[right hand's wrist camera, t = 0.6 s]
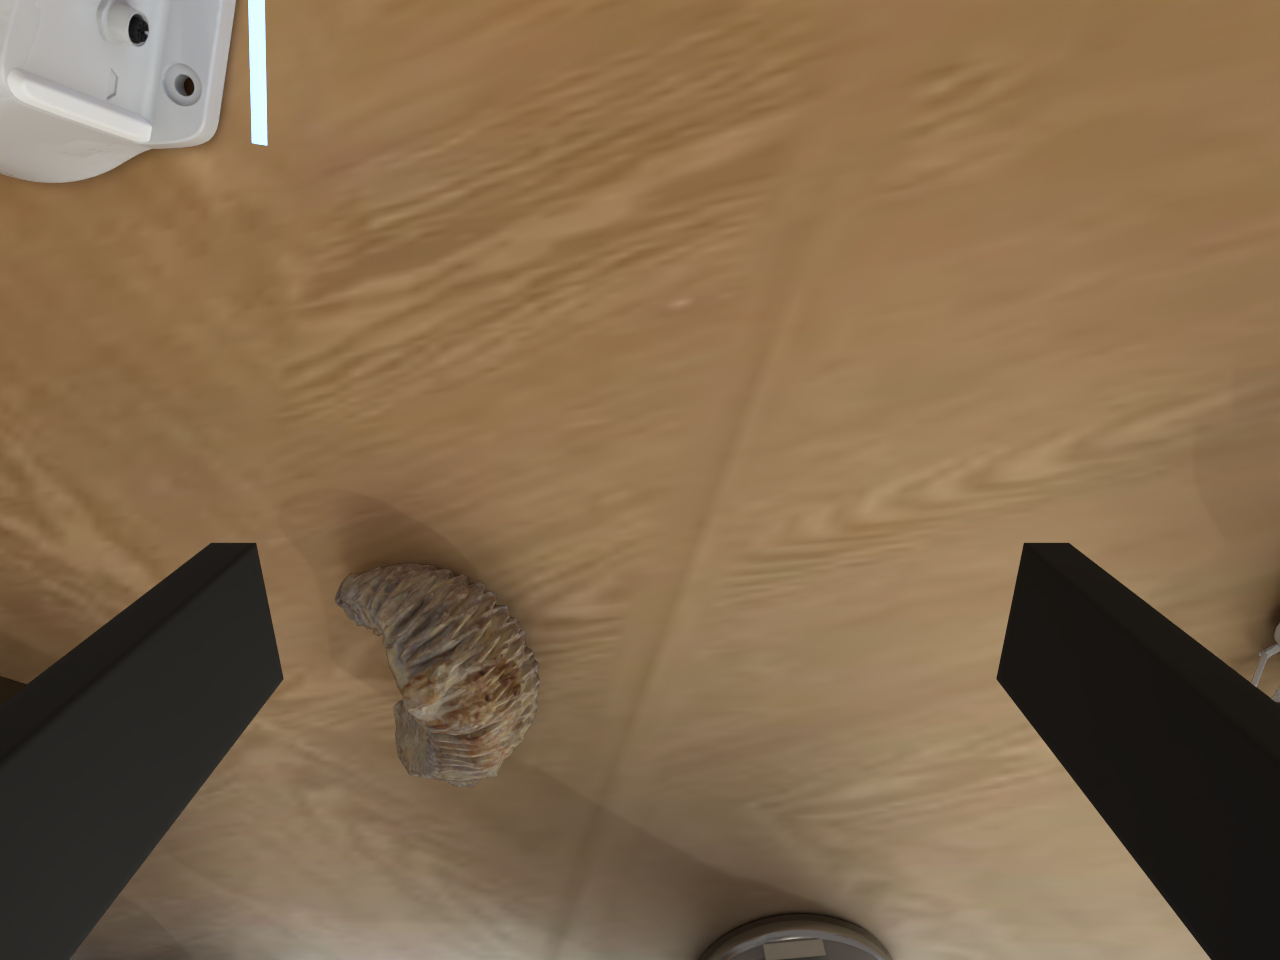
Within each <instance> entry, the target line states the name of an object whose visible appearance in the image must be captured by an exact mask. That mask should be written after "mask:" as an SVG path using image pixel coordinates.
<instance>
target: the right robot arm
mask: <svg viewBox="0 0 1280 960" xmlns="http://www.w3.org/2000/svg"><path fill="white" fill-rule="evenodd" d="M282 680H283V674H282V669H281V664H280V659H279V654H278V649H277V644H276V639H275V634H274V629H273V624H272V619H271V615H270V610H269V605H268V600H267V595H266V590H265V585H264V580H263V575H262V570H261V565H260V560H259V555H258V550H257V545H256V543H211V544H209V545H208V546H207V547H205V548H204V549H203V550H201V551H200V552H199V553H198V554H196V555H195V556H194V557H192V558H191V559H190V560H188V561H187V562H186V563H185V564H183V565H182V566H181V567H179V568H178V569H177V570H175V571H174V572H173V573H172V574H170V575H169V576H168V577H166V578H165V579H164V580H162V581H161V582H160V583H159V584H157V585H156V586H155V587H153V588H152V589H151V590H149V591H148V592H147V593H146V594H144V595H143V596H142V597H140V598H139V599H138V600H136V601H135V602H134V603H133V604H131V605H130V606H129V607H127V608H126V609H125V610H123V611H122V612H121V613H120V614H118V615H117V616H116V617H114V618H113V619H112V620H110V621H109V622H108V623H107V624H105V625H104V626H103V627H101V628H100V629H99V630H97V631H96V632H95V633H94V634H92V635H91V636H90V637H88V638H87V639H86V640H84V641H83V642H82V643H81V644H79V645H78V646H77V647H75V648H74V649H73V650H71V651H70V652H69V653H68V654H66V655H65V656H64V657H62V658H61V659H60V660H58V661H57V662H56V663H55V664H53V665H52V666H51V667H49V668H48V669H47V670H45V671H44V672H43V673H42V674H40V675H39V676H38V677H36V678H35V679H34V680H32V681H31V682H30V683H29V684H27V685H26V686H25V687H23V688H22V689H21V690H19V691H18V692H17V693H16V694H14V695H13V696H12V697H10V698H9V699H8V700H6V701H5V702H4V703H3V704H1V705H0V960H69V959H70V957H71V956H72V955H73V953H74V952H75V951H76V950H77V948H78V947H79V946H80V944H81V943H82V942H83V940H84V939H85V938H86V936H87V935H88V934H89V933H90V931H91V930H92V929H93V927H94V926H95V925H96V923H97V922H98V921H99V919H100V918H101V917H102V916H103V914H104V913H105V912H106V910H107V909H108V908H109V906H110V905H111V904H112V902H113V901H114V900H115V899H116V897H117V896H118V895H119V893H120V892H121V891H122V889H123V888H124V887H125V885H126V884H127V883H128V882H129V880H130V879H131V878H132V876H133V875H134V874H135V872H136V871H137V870H138V868H139V867H140V866H141V865H142V863H143V862H144V861H145V859H146V858H147V857H148V855H149V854H150V853H151V852H152V850H153V849H154V848H155V846H156V845H157V844H158V842H159V841H160V840H161V838H162V837H163V836H164V835H165V833H166V832H167V831H168V829H169V828H170V827H171V825H172V824H173V823H174V821H175V820H176V819H177V818H178V816H179V815H180V814H181V812H182V811H183V810H184V808H185V807H186V806H187V804H188V803H189V802H190V801H191V799H192V798H193V797H194V795H195V794H196V793H197V791H198V790H199V789H200V787H201V786H202V785H203V784H204V782H205V781H206V780H207V778H208V777H209V776H210V774H211V773H212V772H213V770H214V769H215V768H216V767H217V765H218V764H219V763H220V761H221V760H222V759H223V757H224V756H225V755H226V753H227V752H228V751H229V750H230V748H231V747H232V746H233V744H234V743H235V742H236V740H237V739H238V738H239V736H240V735H241V734H242V733H243V731H244V730H245V729H246V727H247V726H248V725H249V723H250V722H251V721H252V720H253V718H254V717H255V716H256V714H257V713H258V712H259V710H260V709H261V708H262V706H263V705H264V704H265V703H266V701H267V700H268V699H269V697H270V696H271V695H272V693H273V692H274V691H275V689H276V688H277V687H278V686H279V684H280V683H281V682H282ZM997 680H998V682H999V683H1000V684H1001V686H1002V687H1003V688H1004V689H1005V691H1006V692H1007V693H1008V695H1009V696H1010V697H1011V699H1012V700H1013V701H1014V703H1015V704H1016V705H1017V706H1018V708H1019V709H1020V710H1021V712H1022V713H1023V714H1024V716H1025V717H1026V718H1027V720H1028V721H1029V722H1030V723H1031V725H1032V726H1033V727H1034V729H1035V730H1036V731H1037V733H1038V734H1039V735H1040V736H1041V738H1042V739H1043V740H1044V742H1045V743H1046V744H1047V746H1048V747H1049V748H1050V750H1051V751H1052V752H1053V753H1054V755H1055V756H1056V757H1057V759H1058V760H1059V761H1060V763H1061V764H1062V765H1063V767H1064V768H1065V769H1066V770H1067V772H1068V773H1069V774H1070V776H1071V777H1072V778H1073V780H1074V781H1075V782H1076V784H1077V785H1078V786H1079V787H1080V789H1081V790H1082V791H1083V793H1084V794H1085V795H1086V797H1087V798H1088V799H1089V801H1090V802H1091V803H1092V804H1093V806H1094V807H1095V808H1096V810H1097V811H1098V812H1099V814H1100V815H1101V816H1102V818H1103V819H1104V820H1105V821H1106V823H1107V824H1108V825H1109V827H1110V828H1111V829H1112V831H1113V832H1114V833H1115V835H1116V836H1117V837H1118V838H1119V840H1120V841H1121V842H1122V844H1123V845H1124V846H1125V848H1126V849H1127V850H1128V852H1129V853H1130V854H1131V855H1132V857H1133V858H1134V859H1135V861H1136V862H1137V863H1138V865H1139V866H1140V867H1141V868H1142V870H1143V871H1144V872H1145V874H1146V875H1147V876H1148V878H1149V879H1150V880H1151V882H1152V883H1153V884H1154V885H1155V887H1156V888H1157V889H1158V891H1159V892H1160V893H1161V895H1162V896H1163V897H1164V899H1165V900H1166V901H1167V902H1168V904H1169V905H1170V906H1171V908H1172V909H1173V910H1174V912H1175V913H1176V914H1177V916H1178V917H1179V918H1180V919H1181V921H1182V922H1183V923H1184V925H1185V926H1186V927H1187V929H1188V930H1189V931H1190V933H1191V934H1192V935H1193V936H1194V938H1195V939H1196V940H1197V942H1198V943H1199V944H1200V946H1201V947H1202V948H1203V950H1204V951H1205V952H1206V953H1207V955H1208V956H1209V957H1210V959H1211V960H1280V702H1275V701H1274V700H1272V699H1271V698H1270V697H1268V696H1267V695H1266V694H1264V693H1263V692H1262V691H1261V690H1259V689H1258V688H1257V687H1255V686H1254V685H1253V684H1251V683H1250V682H1249V681H1248V680H1246V679H1245V678H1244V677H1242V676H1241V675H1240V674H1238V673H1237V672H1236V671H1235V670H1233V669H1232V668H1231V667H1229V666H1228V665H1227V664H1225V663H1224V662H1223V661H1222V660H1220V659H1219V658H1218V657H1216V656H1215V655H1214V654H1212V653H1211V652H1210V651H1209V650H1207V649H1206V648H1205V647H1203V646H1202V645H1201V644H1199V643H1198V642H1197V641H1196V640H1194V639H1193V638H1192V637H1190V636H1189V635H1188V634H1186V633H1185V632H1184V631H1183V630H1181V629H1180V628H1179V627H1177V626H1176V625H1175V624H1173V623H1172V622H1171V621H1170V620H1168V619H1167V618H1166V617H1164V616H1163V615H1162V614H1160V613H1159V612H1158V611H1157V610H1155V609H1154V608H1153V607H1151V606H1150V605H1149V604H1147V603H1146V602H1145V601H1144V600H1142V599H1141V598H1140V597H1138V596H1137V595H1136V594H1134V593H1133V592H1132V591H1131V590H1129V589H1128V588H1127V587H1125V586H1124V585H1123V584H1121V583H1120V582H1119V581H1118V580H1116V579H1115V578H1114V577H1112V576H1111V575H1110V574H1108V573H1107V572H1106V571H1105V570H1103V569H1102V568H1101V567H1099V566H1098V565H1097V564H1095V563H1094V562H1093V561H1092V560H1090V559H1089V558H1088V557H1086V556H1085V555H1084V554H1082V553H1081V552H1080V551H1079V550H1077V549H1076V548H1075V547H1073V546H1072V545H1071V544H1069V543H1024V545H1023V550H1022V555H1021V560H1020V565H1019V570H1018V575H1017V580H1016V585H1015V590H1014V595H1013V600H1012V605H1011V610H1010V615H1009V619H1008V624H1007V629H1006V634H1005V639H1004V644H1003V649H1002V654H1001V659H1000V664H999V669H998V674H997ZM700 960H892V958H891V956H890V954H889V953H888V951H887V950H886V948H885V947H884V946H883V945H882V944H881V943H880V942H879V941H878V940H877V939H876V938H875V937H873V936H872V935H871V934H870V933H868V932H866V931H865V930H863V929H861V928H859V927H857V926H855V925H853V924H851V923H848V922H846V921H843V920H839V919H836V918H831V917H826V916H820V915H809V914H792V915H781V916H775V917H770V918H765V919H761V920H758V921H755V922H752V923H749V924H746V925H744V926H742V927H739V928H737V929H735V930H733V931H732V932H730V933H728V934H727V935H725V936H723V937H722V938H721V939H719V940H718V941H717V942H715V943H714V944H713V945H712V946H711V947H710V948H709V949H708V950H707V951H706V952H705V953H704V955H703V956H702V957H701V958H700Z"/></svg>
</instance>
